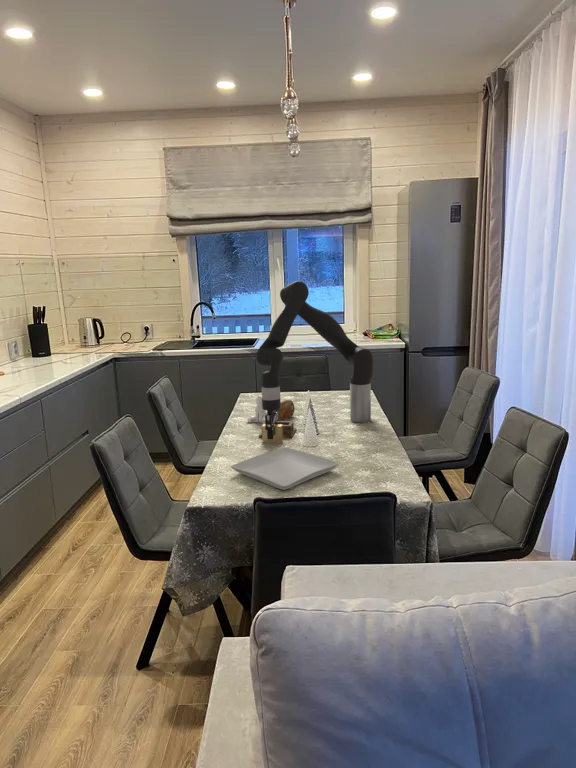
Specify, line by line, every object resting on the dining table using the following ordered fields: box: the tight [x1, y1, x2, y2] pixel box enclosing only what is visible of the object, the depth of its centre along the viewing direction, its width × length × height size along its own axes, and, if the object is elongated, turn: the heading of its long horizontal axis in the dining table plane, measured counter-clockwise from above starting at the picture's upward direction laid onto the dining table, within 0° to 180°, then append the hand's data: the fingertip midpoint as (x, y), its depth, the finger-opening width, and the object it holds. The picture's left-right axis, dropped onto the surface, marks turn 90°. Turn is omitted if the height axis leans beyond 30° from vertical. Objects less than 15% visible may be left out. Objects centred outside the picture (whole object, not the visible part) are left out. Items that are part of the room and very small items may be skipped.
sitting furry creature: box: [246, 395, 267, 424], centre depth 258 cm, size 10×9×12 cm
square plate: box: [230, 446, 340, 491], centre depth 194 cm, size 27×27×4 cm
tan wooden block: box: [261, 423, 284, 444], centre depth 228 cm, size 8×3×7 cm, turn 80°
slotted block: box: [258, 420, 297, 439], centre depth 239 cm, size 14×12×4 cm
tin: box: [278, 399, 295, 421], centre depth 261 cm, size 15×3×8 cm, turn 143°
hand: (272, 435), depth 228 cm, fingers open, 8 cm apart
